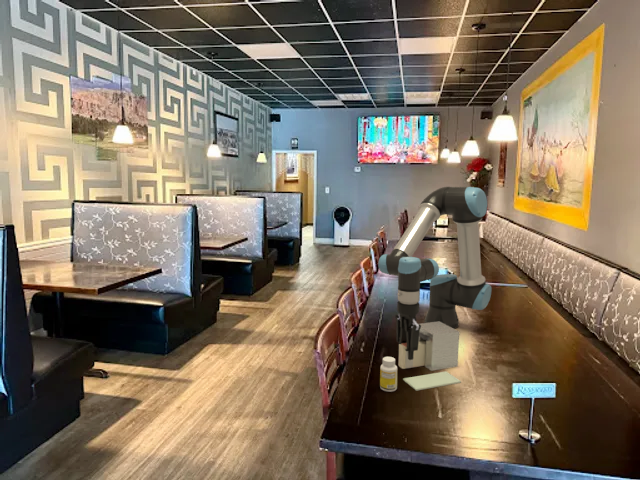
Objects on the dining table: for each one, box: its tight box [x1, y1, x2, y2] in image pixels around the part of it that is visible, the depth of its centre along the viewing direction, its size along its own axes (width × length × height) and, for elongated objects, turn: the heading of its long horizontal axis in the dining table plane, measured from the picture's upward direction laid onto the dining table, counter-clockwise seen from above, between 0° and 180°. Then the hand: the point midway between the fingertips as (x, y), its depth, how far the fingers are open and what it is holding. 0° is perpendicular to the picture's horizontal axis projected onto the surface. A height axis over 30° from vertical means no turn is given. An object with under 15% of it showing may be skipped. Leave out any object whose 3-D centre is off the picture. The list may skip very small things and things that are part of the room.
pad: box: [402, 370, 462, 391], centre depth 147 cm, size 17×8×1 cm, turn 110°
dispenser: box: [419, 321, 460, 372], centre depth 161 cm, size 12×12×13 cm
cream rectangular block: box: [397, 340, 426, 370], centre depth 159 cm, size 13×3×8 cm, turn 110°
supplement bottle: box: [379, 356, 398, 393], centre depth 141 cm, size 5×5×10 cm
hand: (406, 365), depth 158 cm, fingers closed on cream rectangular block, 3 cm apart
